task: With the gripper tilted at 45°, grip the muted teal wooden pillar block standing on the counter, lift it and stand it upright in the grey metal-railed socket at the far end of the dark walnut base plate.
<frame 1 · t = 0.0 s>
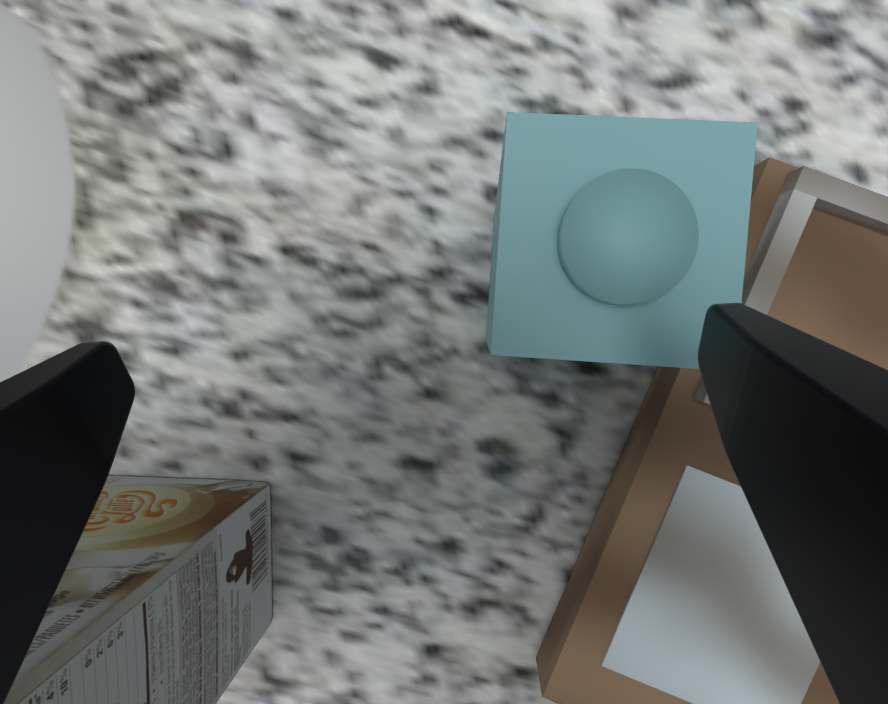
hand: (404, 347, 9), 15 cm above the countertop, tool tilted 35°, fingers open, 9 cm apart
walnut base plate: (752, 471, 23), on the countertop
teal pillar: (552, 281, 23), on the countertop
coffee box: (174, 545, 25), on the countertop
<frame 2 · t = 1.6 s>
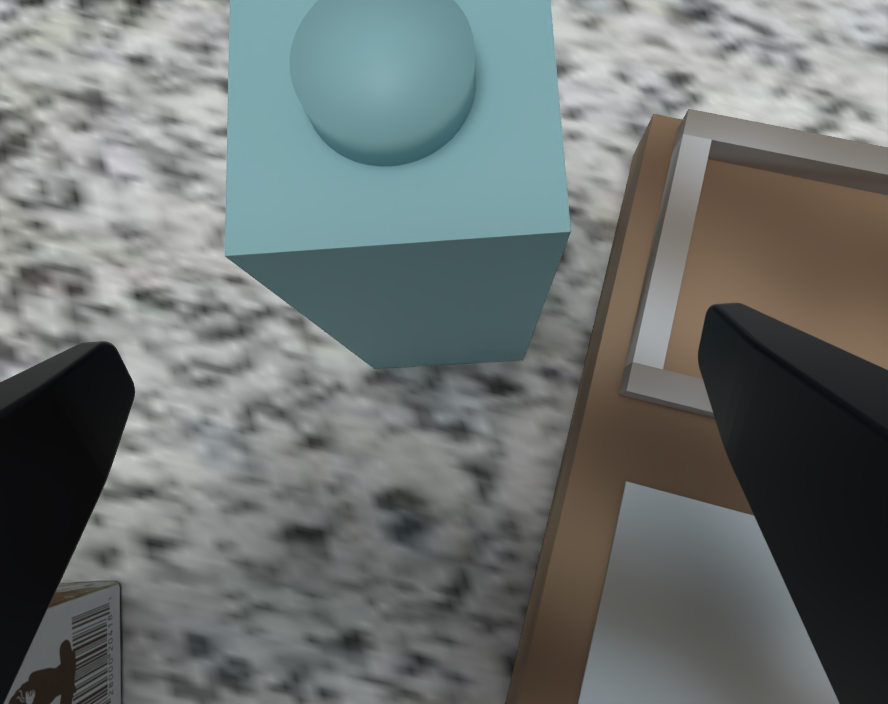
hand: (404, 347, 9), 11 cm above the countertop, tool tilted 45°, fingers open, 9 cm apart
walnut base plate: (722, 491, 18), on the countertop
teal pillar: (444, 292, 20), on the countertop
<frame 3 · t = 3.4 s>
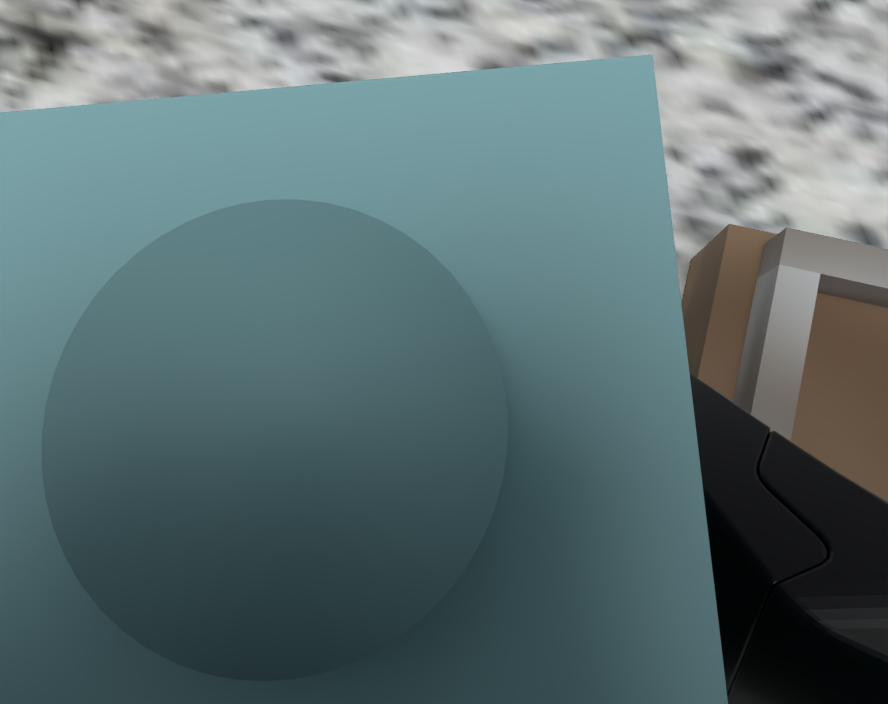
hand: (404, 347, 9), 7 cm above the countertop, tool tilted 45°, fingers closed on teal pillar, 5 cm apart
teal pillar: (441, 443, 15), on the countertop, touching gripper
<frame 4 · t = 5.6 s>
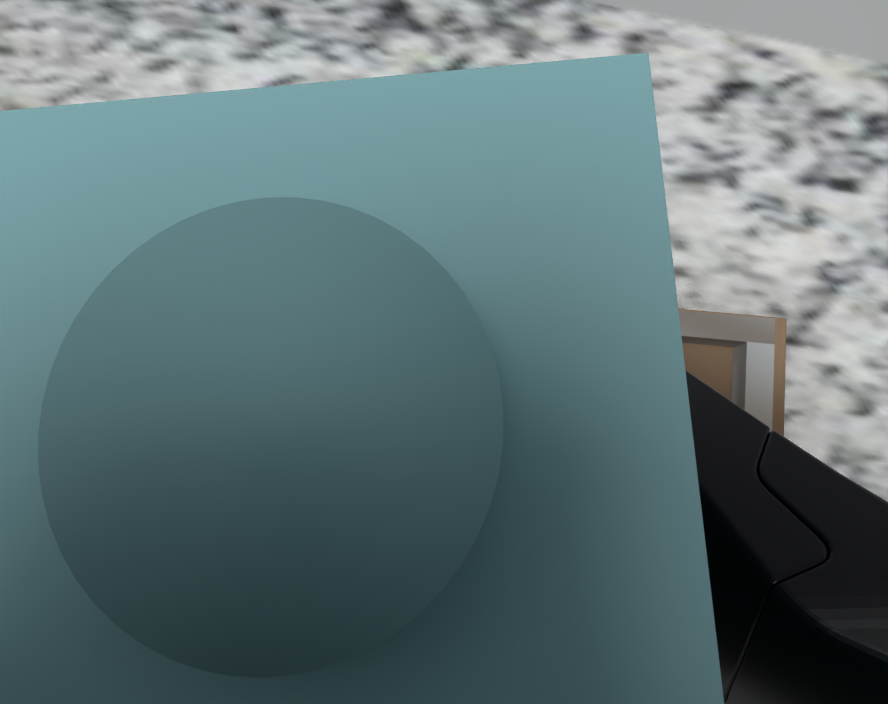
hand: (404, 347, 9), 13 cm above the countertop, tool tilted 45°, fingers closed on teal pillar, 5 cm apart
walnut base plate: (590, 618, 20), on the countertop
teal pillar: (440, 443, 15), point 6 cm above the countertop, touching gripper
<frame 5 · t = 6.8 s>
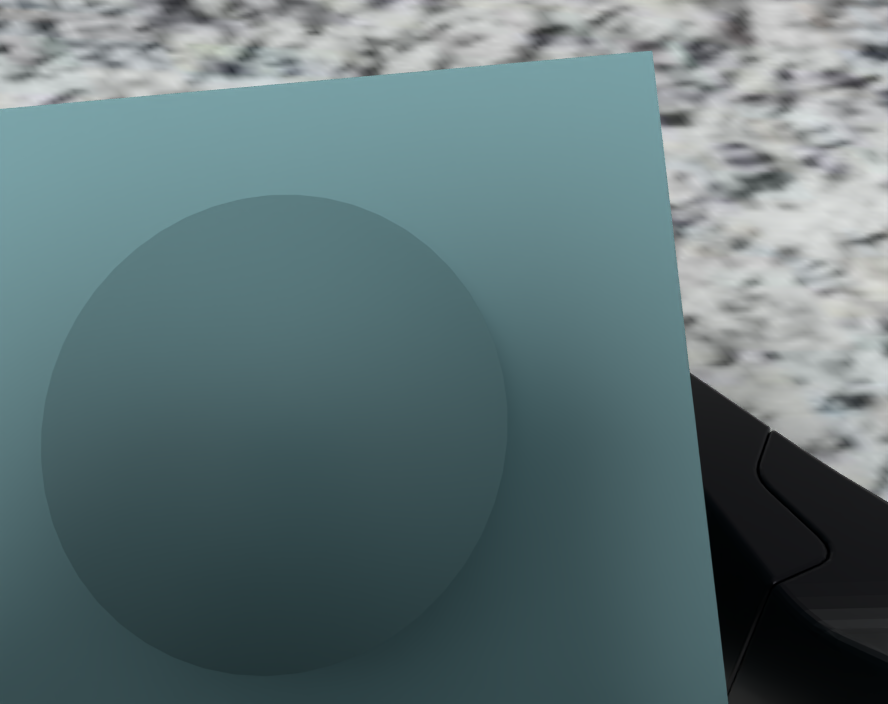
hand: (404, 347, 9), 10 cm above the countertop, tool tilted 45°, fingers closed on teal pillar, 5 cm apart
teal pillar: (441, 442, 15), point 4 cm above the countertop, touching gripper
when the fingers open (10 cm above the countertop, at t = 7.6 s): teal pillar stays where it is, resting on walnut base plate.
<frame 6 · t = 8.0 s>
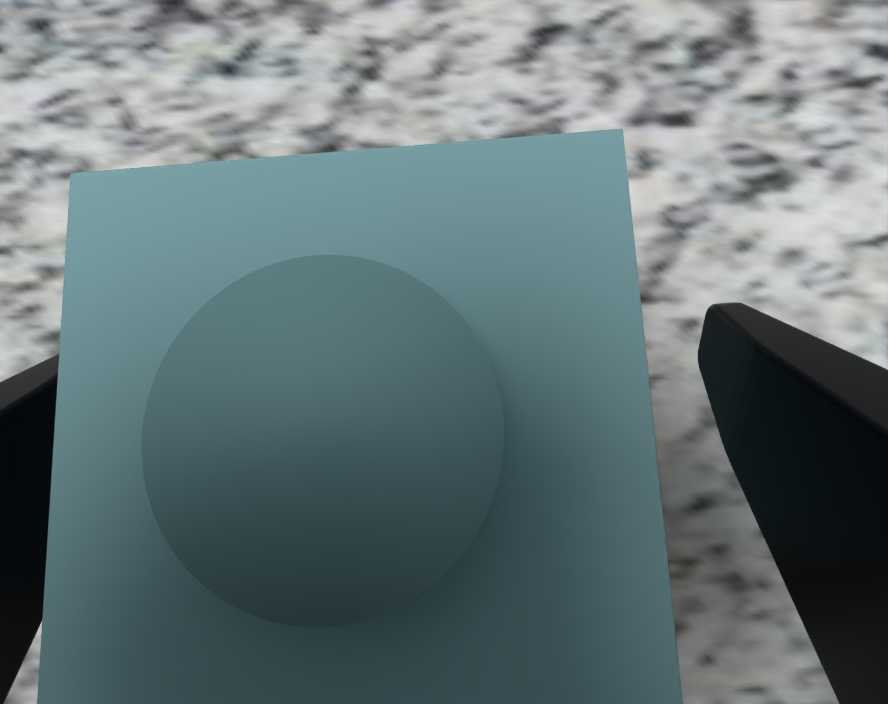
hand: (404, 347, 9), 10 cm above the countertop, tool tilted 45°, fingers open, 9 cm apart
teal pillar: (444, 444, 16), point 2 cm above the countertop, touching walnut base plate
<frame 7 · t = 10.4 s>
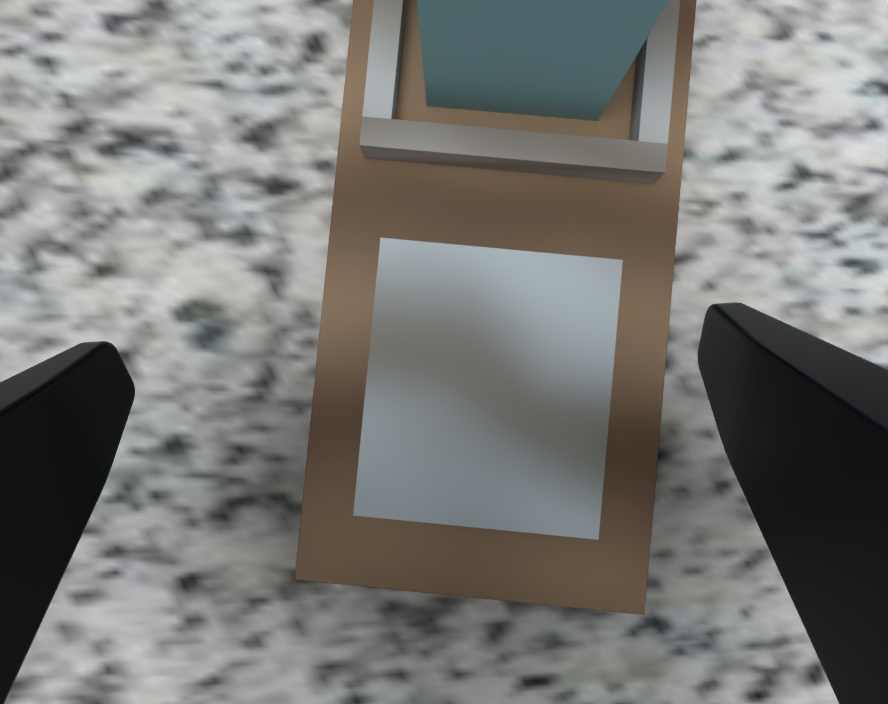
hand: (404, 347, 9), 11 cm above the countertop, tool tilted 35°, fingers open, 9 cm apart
walnut base plate: (495, 249, 20), on the countertop
teal pillar: (519, 29, 17), point 2 cm above the countertop, touching walnut base plate
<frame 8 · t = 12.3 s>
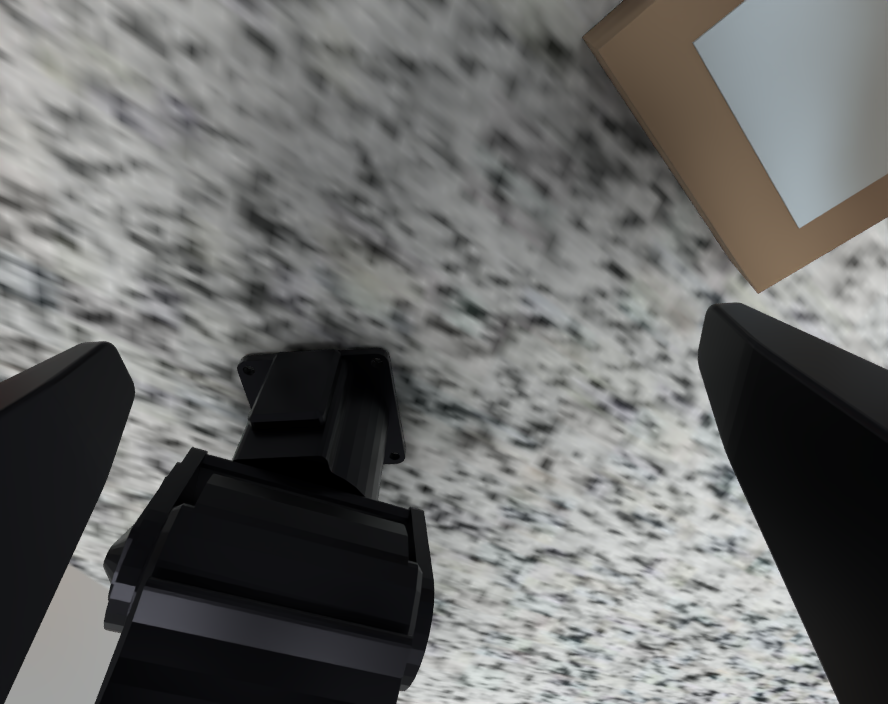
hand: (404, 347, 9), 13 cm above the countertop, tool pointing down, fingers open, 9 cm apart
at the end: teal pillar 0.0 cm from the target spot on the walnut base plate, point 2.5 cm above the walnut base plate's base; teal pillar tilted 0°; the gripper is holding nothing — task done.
